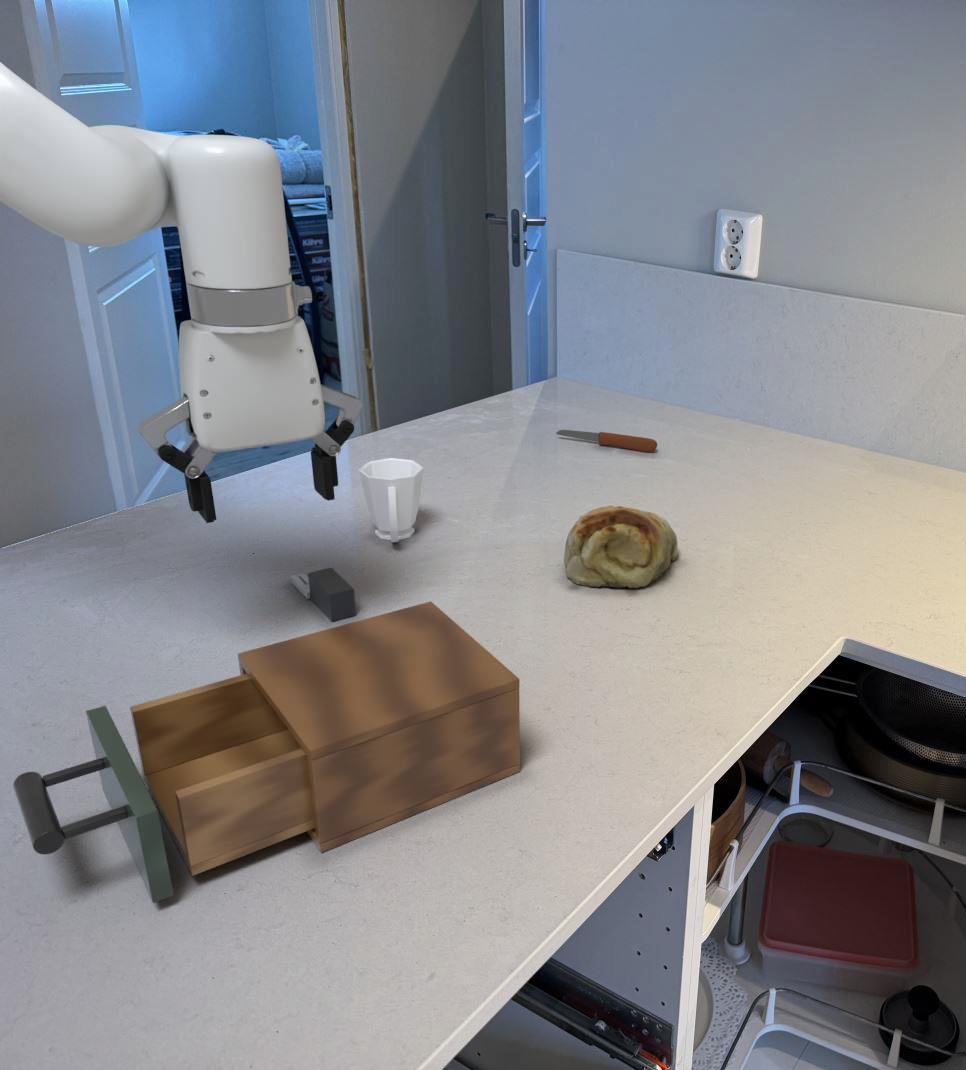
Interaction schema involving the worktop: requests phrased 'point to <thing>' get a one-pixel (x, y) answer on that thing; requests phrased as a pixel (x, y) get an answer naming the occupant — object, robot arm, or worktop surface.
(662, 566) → the pastry
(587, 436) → the kitchen knife
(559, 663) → the worktop surface
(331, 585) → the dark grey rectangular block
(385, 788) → the cabinet
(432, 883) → the worktop surface
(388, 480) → the cup
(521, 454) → the worktop surface
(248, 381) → the robot arm
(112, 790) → the drawer
